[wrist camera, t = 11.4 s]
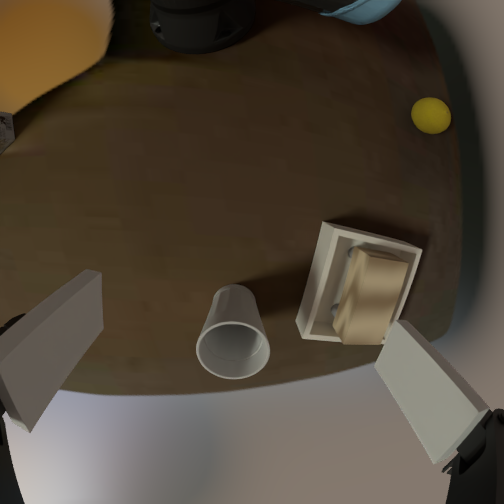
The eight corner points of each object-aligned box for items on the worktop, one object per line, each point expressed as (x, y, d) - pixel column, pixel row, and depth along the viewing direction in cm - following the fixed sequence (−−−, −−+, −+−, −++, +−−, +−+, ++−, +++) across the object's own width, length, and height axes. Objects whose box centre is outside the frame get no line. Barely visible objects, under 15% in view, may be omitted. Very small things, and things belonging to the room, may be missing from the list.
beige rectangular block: (366, 327, 38) (380, 344, 33) (332, 325, 38) (343, 344, 33) (390, 252, 35) (408, 263, 30) (354, 246, 35) (370, 256, 30)
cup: (266, 282, 39) (276, 326, 27) (256, 330, 41) (262, 382, 30) (210, 275, 38) (198, 316, 27) (204, 323, 40) (194, 374, 29)
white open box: (322, 221, 37) (334, 228, 32) (404, 241, 38) (422, 249, 34) (295, 320, 41) (302, 338, 36) (374, 328, 42) (387, 344, 37)
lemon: (396, 117, 33) (427, 108, 25) (411, 96, 32) (441, 85, 24) (419, 142, 34) (451, 139, 26) (433, 121, 33) (464, 115, 25)
